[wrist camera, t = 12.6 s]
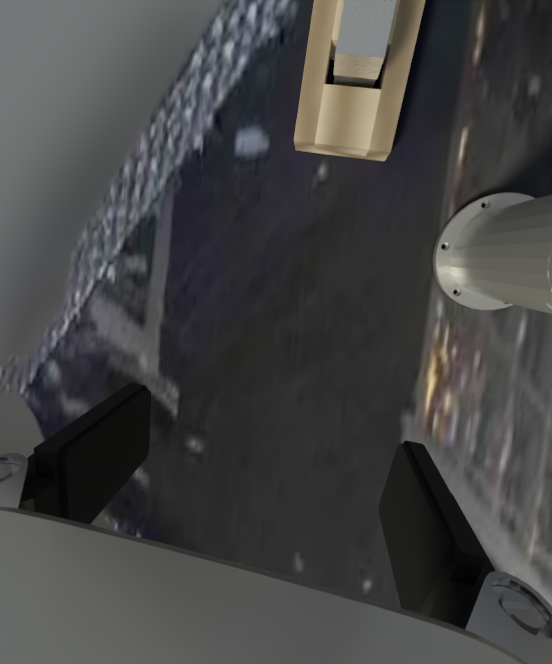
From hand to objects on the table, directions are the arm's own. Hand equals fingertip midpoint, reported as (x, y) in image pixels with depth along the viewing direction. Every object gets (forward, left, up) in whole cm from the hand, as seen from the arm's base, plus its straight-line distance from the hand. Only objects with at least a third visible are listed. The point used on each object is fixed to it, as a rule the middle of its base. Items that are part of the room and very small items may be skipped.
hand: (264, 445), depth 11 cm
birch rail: (-1, -29, -28) cm, 41 cm away
